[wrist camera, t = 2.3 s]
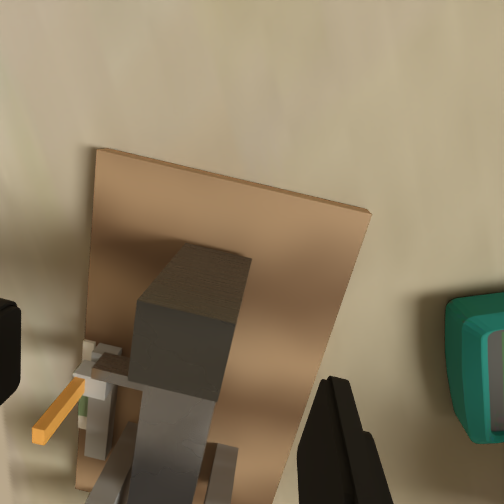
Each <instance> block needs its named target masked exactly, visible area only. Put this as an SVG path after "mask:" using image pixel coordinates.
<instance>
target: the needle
mask: <svg viewBox="0 0 504 504" xmlns="http://www.w3.org/2000/svg"><path fill="white" fill-rule="evenodd" d="M95 363H96V362H93V361H88V360H84V361H83V362H82V363H81V364H80V365H79V366H78V368H77V369H76V370H75V371H74V372H73V380H72V381H71V382H70V383H69V384H68V385H67V387H66V388H65V389H64V390H63V391H62V393H61V394H60V395H59V396H58V397H57V399H56V400H55V401H54V402H53V403H52V405H51V406H50V407H49V408H48V409H47V411H46V412H45V413H44V414H43V415H42V417H41V418H40V419H39V420H38V421H37V422H36V424H35V425H34V426H33V427H32V443H36V444H40V445H45V444H46V443H47V441H48V440H49V439H50V437H51V436H52V435H53V433H54V432H55V431H56V429H57V428H58V427H59V425H60V424H61V423H62V422H63V420H64V419H65V418H66V416H67V415H68V414H69V412H70V411H71V410H72V408H73V407H74V406H75V404H76V403H77V402H78V400H79V399H80V398H81V396H82V395H83V396H87V397H91V398H96V399H100V400H104V401H105V399H106V398H107V396H108V394H109V393H110V391H111V390H112V388H113V387H114V384H111V383H107V382H103V381H99V380H95V379H91V370H92V367H93V366H94V364H95Z"/></svg>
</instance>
